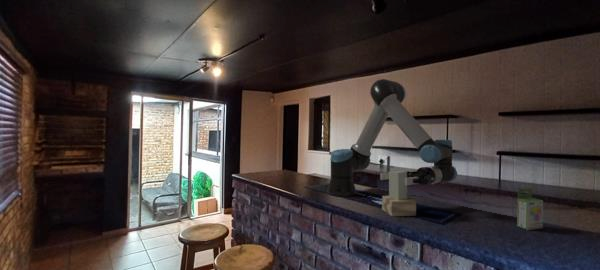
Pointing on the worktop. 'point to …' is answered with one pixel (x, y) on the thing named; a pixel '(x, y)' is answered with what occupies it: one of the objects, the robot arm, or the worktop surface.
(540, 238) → the worktop surface
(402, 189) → the sage block
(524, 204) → the ink box
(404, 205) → the birch block
